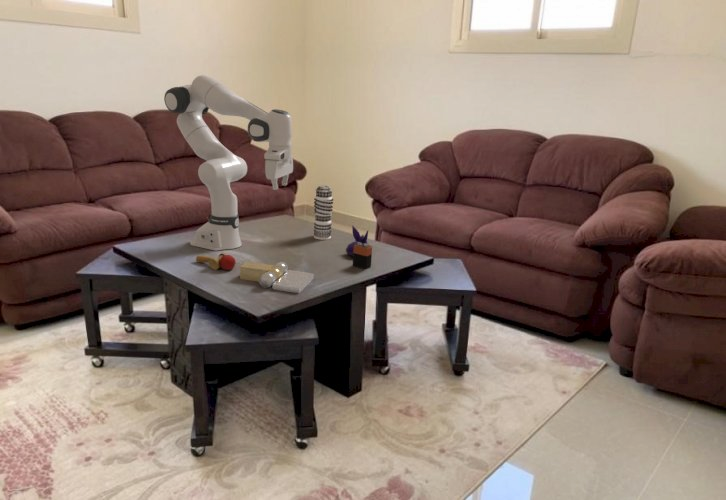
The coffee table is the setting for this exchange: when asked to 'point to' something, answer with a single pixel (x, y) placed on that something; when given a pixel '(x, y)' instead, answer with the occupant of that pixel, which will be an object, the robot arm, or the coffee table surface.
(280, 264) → the plate with metal balls
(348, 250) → the creature
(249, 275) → the gold bar
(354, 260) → the battery
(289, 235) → the coffee table surface
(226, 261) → the kendama
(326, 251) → the coffee table surface
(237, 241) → the robot arm
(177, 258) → the coffee table surface
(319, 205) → the black white tall cylinder
